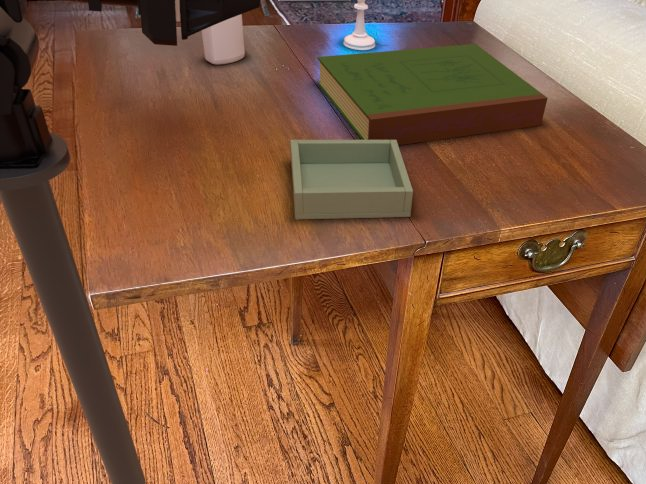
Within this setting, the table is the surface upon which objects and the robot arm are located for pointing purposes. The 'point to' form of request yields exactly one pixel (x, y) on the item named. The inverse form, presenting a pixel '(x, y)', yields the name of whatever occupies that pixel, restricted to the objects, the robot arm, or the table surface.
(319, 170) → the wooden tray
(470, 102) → the hardcover book
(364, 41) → the chess piece
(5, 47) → the robot arm
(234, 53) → the eye dropper bottle
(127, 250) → the table surface
